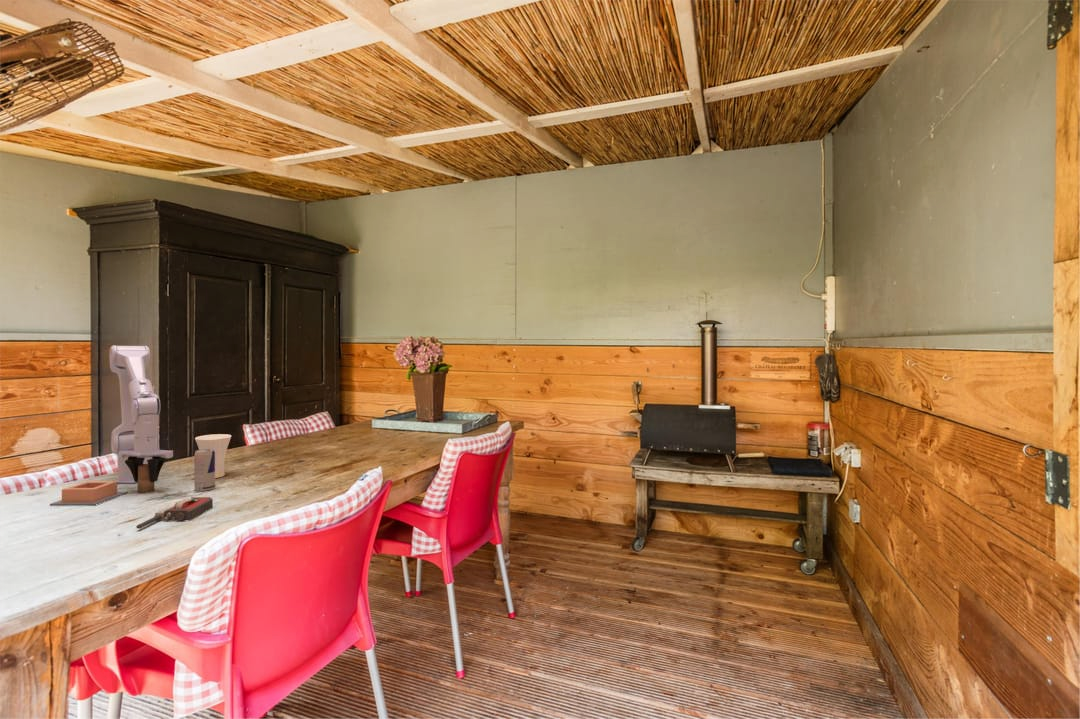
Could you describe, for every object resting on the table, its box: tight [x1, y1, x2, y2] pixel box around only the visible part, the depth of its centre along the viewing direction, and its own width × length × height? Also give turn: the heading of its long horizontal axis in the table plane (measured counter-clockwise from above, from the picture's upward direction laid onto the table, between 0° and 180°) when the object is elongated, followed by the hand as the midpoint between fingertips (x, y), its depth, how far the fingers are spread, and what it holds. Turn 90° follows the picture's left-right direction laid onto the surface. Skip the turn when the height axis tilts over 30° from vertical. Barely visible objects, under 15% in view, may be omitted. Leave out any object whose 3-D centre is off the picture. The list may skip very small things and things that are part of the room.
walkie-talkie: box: [135, 496, 214, 530], centre depth 135 cm, size 9×4×20 cm
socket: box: [49, 480, 128, 506], centre depth 149 cm, size 12×12×4 cm
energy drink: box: [193, 449, 216, 492], centre depth 161 cm, size 5×5×12 cm
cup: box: [194, 433, 232, 479], centre depth 176 cm, size 10×10×14 cm
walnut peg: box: [137, 464, 155, 494], centre depth 158 cm, size 4×4×8 cm
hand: (146, 481), depth 158 cm, fingers closed on walnut peg, 4 cm apart
